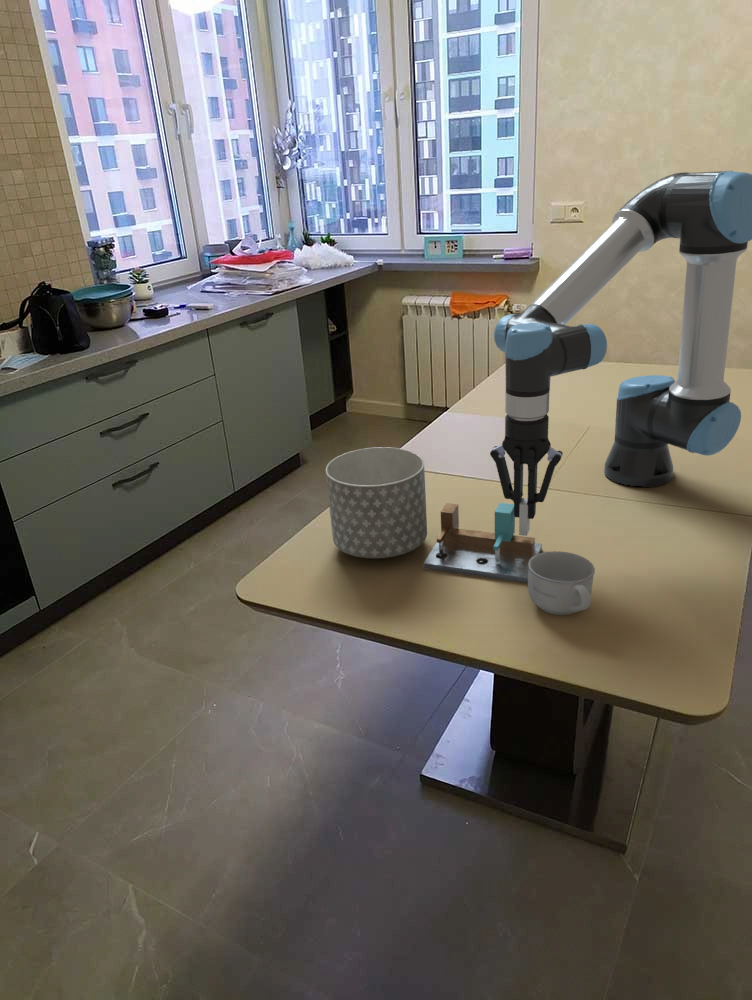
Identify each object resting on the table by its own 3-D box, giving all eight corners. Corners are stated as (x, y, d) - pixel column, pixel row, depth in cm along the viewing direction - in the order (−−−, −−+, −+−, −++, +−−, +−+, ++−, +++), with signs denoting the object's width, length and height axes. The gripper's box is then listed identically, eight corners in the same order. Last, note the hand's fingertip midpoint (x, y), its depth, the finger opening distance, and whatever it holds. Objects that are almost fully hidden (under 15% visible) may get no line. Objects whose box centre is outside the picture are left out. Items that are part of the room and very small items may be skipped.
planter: (338, 527, 155) (330, 449, 147) (426, 523, 154) (422, 444, 146) (330, 574, 138) (320, 488, 130) (429, 569, 137) (425, 483, 129)
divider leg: (514, 541, 141) (515, 504, 137) (503, 565, 133) (503, 526, 130) (499, 539, 142) (499, 502, 138) (487, 563, 134) (487, 524, 131)
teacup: (520, 591, 128) (520, 552, 125) (579, 584, 129) (582, 545, 125) (542, 637, 116) (544, 595, 112) (608, 630, 116) (612, 588, 113)
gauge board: (541, 549, 141) (543, 509, 137) (528, 583, 130) (529, 542, 127) (443, 536, 148) (442, 499, 145) (423, 568, 138) (421, 528, 134)
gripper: (567, 409, 127) (562, 527, 138) (495, 405, 132) (495, 519, 142) (561, 423, 121) (556, 545, 131) (485, 419, 126) (485, 537, 136)
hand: (524, 532), depth 137 cm, fingers closed
